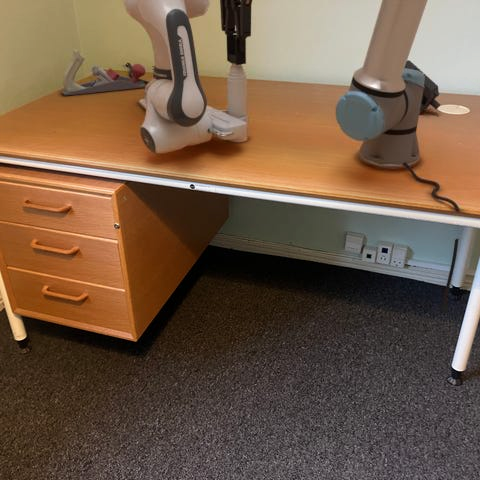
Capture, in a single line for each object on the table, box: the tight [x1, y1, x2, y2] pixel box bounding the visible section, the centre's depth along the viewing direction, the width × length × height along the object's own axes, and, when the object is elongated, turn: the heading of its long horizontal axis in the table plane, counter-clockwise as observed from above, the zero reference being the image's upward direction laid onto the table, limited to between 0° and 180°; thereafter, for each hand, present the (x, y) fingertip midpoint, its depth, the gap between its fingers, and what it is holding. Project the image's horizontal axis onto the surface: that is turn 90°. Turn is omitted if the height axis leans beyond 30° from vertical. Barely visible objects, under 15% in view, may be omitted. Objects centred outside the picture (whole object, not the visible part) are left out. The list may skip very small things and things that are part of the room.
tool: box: [405, 59, 442, 114], centre depth 170 cm, size 6×19×15 cm, turn 51°
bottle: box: [226, 63, 248, 143], centre depth 147 cm, size 5×5×23 cm
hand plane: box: [61, 48, 146, 96], centre depth 194 cm, size 7×31×15 cm, turn 107°
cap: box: [228, 52, 236, 64], centre depth 141 cm, size 4×4×2 cm
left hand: (240, 115), depth 150 cm, fingers closed on bottle, 5 cm apart
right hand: (236, 62), depth 142 cm, fingers open, 4 cm apart
